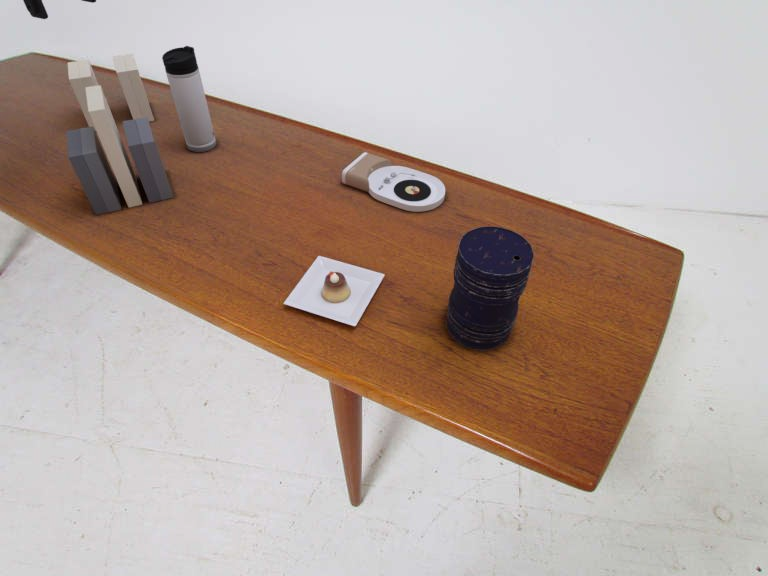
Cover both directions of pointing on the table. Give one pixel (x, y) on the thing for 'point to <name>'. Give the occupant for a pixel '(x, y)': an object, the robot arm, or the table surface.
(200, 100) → the travel mug
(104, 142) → the cream book
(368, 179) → the record player
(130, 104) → the white books
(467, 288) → the dark blue barrel
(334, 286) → the dessert
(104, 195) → the grey books
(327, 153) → the table surface
